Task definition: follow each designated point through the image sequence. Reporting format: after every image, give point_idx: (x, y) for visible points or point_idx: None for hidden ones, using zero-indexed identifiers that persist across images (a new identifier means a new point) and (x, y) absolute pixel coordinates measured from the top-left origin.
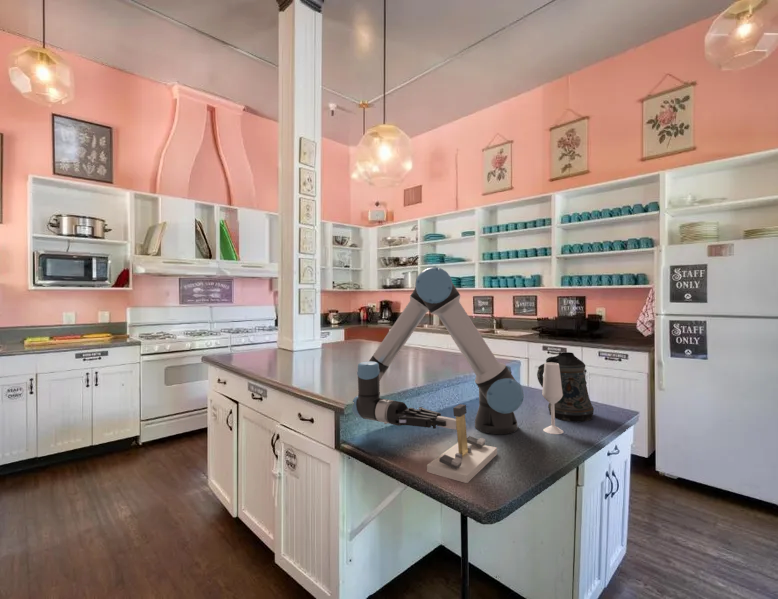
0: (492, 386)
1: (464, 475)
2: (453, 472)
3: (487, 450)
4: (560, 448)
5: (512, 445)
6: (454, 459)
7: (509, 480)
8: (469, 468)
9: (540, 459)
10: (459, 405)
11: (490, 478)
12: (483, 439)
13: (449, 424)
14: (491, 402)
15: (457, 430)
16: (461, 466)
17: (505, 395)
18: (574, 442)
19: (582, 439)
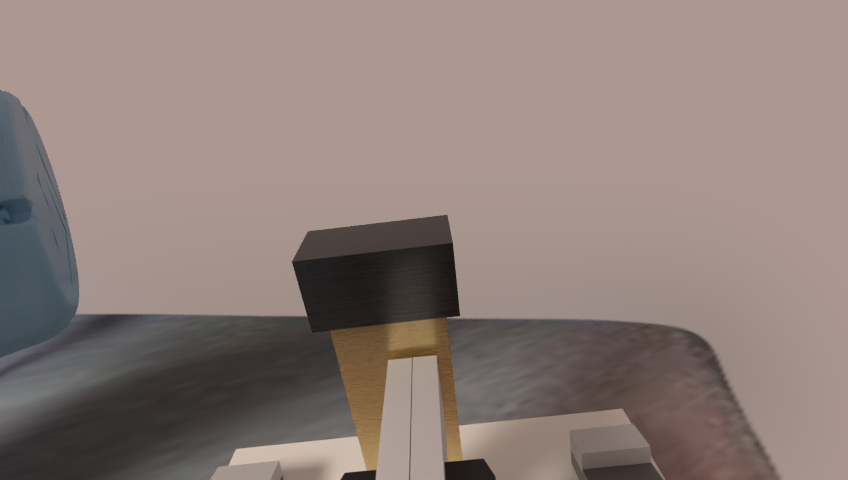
0: (2, 145)
1: (627, 419)
2: (658, 468)
3: (289, 467)
4: (149, 347)
5: (111, 466)
6: (621, 446)
7: (471, 357)
8: (550, 433)
9: (261, 354)
10: (342, 246)
11: (503, 397)
12: (224, 472)
13: (445, 448)
14: (53, 273)
15: (456, 405)
16: (566, 471)
17: (49, 202)
18: (90, 339)
19: (63, 334)
